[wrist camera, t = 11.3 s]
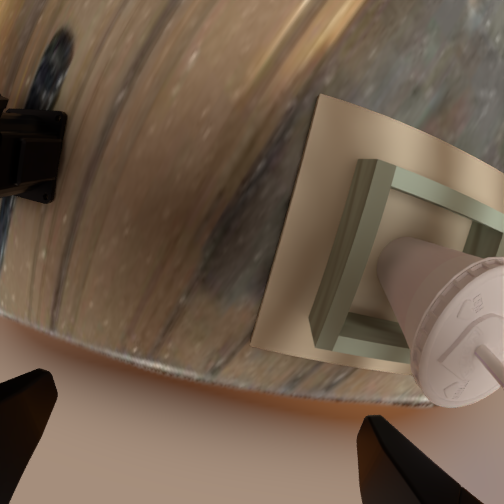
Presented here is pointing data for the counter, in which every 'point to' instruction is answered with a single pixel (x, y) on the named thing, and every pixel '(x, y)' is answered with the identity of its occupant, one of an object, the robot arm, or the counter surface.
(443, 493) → the robot arm
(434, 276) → the smoothie
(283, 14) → the counter surface
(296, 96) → the counter surface
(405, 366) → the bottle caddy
